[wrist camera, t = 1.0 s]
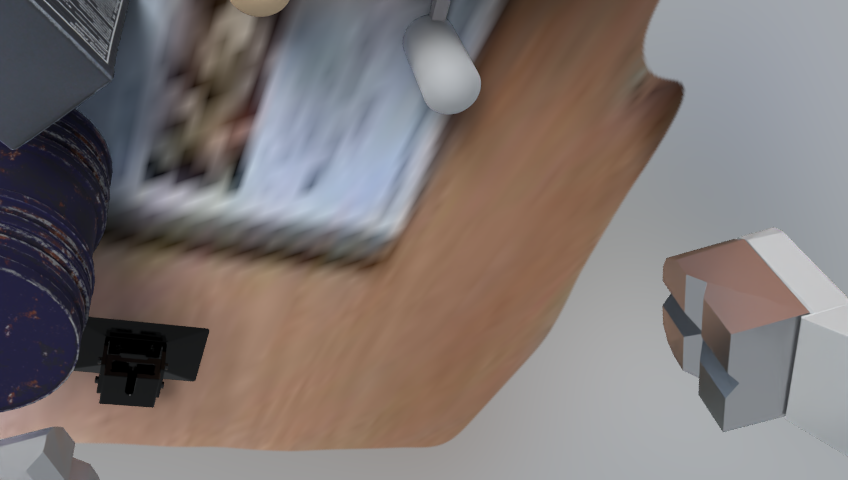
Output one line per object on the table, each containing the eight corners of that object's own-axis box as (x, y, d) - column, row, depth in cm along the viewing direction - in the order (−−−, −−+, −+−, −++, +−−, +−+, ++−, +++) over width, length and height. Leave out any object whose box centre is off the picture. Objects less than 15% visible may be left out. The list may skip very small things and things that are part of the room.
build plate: (230, 317, 59) (232, 364, 55) (212, 385, 63) (212, 433, 59) (45, 298, 54) (33, 347, 51) (37, 372, 58) (26, 423, 55)
